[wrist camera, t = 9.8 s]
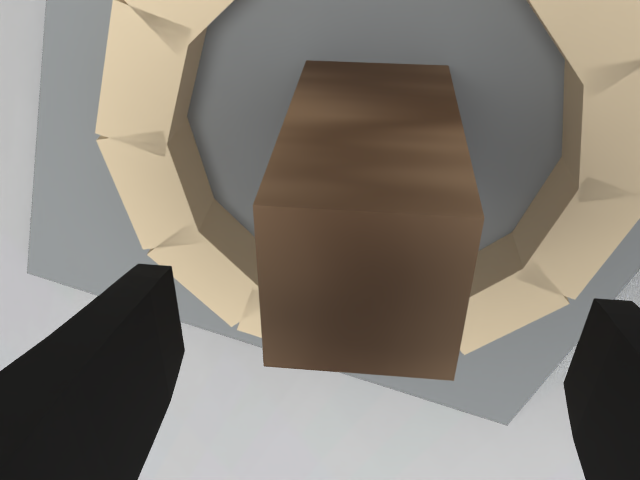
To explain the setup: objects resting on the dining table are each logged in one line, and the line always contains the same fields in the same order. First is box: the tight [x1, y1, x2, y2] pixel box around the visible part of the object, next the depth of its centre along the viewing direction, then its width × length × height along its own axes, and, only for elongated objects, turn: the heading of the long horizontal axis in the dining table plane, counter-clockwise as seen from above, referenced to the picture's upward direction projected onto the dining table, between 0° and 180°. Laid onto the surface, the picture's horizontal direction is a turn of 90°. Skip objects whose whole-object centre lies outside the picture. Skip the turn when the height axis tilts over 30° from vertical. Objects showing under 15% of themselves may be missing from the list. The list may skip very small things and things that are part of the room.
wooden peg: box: [253, 60, 484, 381], centre depth 15 cm, size 4×4×8 cm
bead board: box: [27, 0, 640, 425], centre depth 18 cm, size 20×20×2 cm
